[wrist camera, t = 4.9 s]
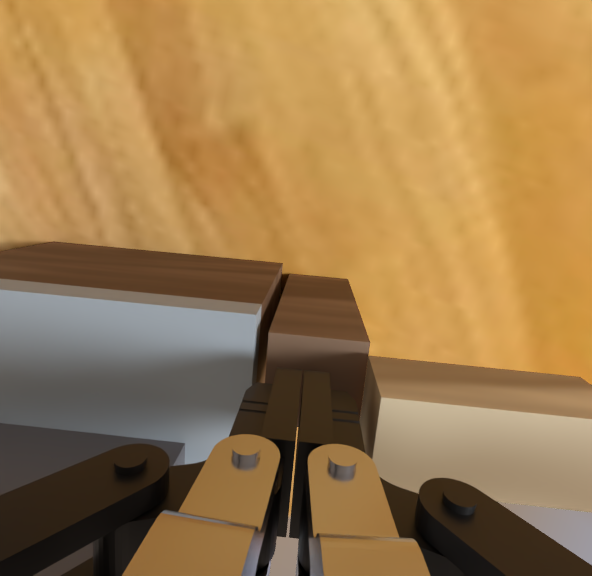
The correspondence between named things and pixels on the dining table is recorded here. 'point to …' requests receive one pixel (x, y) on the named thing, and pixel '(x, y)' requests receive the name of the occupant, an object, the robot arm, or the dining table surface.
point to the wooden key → (480, 430)
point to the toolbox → (229, 287)
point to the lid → (116, 377)
